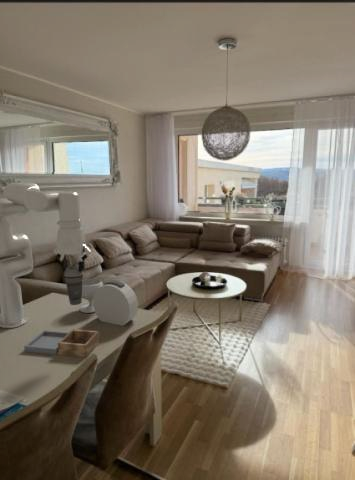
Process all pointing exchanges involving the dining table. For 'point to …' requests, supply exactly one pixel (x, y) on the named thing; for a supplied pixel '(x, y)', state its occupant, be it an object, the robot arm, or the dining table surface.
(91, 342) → the holder
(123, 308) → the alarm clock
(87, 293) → the chalice
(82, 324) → the dining table surface
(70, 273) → the beverage cup
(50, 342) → the tray
